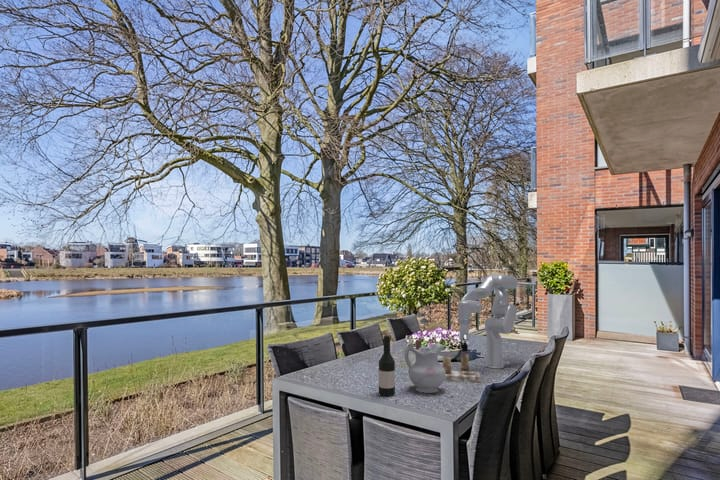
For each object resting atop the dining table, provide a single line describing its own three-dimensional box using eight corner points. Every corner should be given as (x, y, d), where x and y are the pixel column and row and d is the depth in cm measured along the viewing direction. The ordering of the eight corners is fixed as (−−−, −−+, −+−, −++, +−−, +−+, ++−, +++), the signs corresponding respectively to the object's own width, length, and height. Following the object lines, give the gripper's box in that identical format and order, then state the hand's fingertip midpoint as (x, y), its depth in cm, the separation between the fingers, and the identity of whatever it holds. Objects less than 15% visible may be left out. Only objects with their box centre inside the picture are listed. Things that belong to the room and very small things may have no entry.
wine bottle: (377, 392, 223) (377, 334, 225) (393, 391, 224) (393, 333, 225) (379, 397, 215) (379, 336, 216) (396, 396, 215) (396, 336, 217)
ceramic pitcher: (415, 399, 214) (418, 350, 214) (397, 386, 232) (399, 340, 231) (451, 394, 223) (453, 347, 222) (431, 382, 241) (433, 338, 240)
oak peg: (468, 373, 261) (468, 353, 261) (469, 375, 256) (469, 355, 257) (460, 372, 262) (460, 353, 262) (461, 374, 257) (461, 354, 258)
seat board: (478, 376, 253) (478, 356, 253) (480, 382, 241) (480, 361, 241) (437, 374, 257) (437, 354, 258) (437, 380, 245) (437, 359, 246)
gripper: (457, 319, 270) (457, 347, 268) (458, 323, 253) (458, 352, 251) (469, 320, 268) (469, 347, 267) (471, 323, 251) (471, 353, 250)
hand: (464, 349), depth 259 cm, fingers open, 9 cm apart
